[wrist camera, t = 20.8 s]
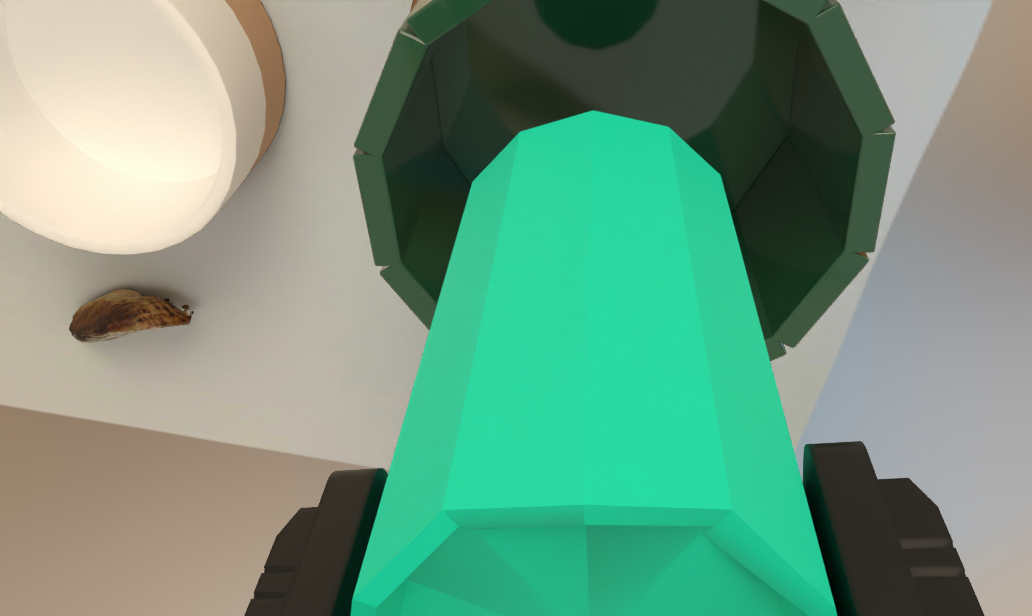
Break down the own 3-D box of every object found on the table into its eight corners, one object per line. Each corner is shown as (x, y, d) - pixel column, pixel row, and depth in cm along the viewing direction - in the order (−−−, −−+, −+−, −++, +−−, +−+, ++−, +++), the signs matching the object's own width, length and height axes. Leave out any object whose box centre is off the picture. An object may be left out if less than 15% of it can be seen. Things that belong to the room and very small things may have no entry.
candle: (781, 279, 19) (983, 895, 9) (554, 384, 21) (511, 967, 11) (649, 53, 16) (723, 564, 6) (406, 200, 18) (178, 747, 8)
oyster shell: (145, 289, 65) (200, 285, 57) (147, 337, 65) (203, 339, 57) (60, 291, 60) (108, 286, 53) (62, 342, 60) (111, 345, 53)
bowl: (308, -39, 46) (257, 1, 39) (267, 223, 55) (220, 293, 48) (-13, -148, 44) (-127, -127, 37) (2, 142, 54) (-86, 203, 47)
